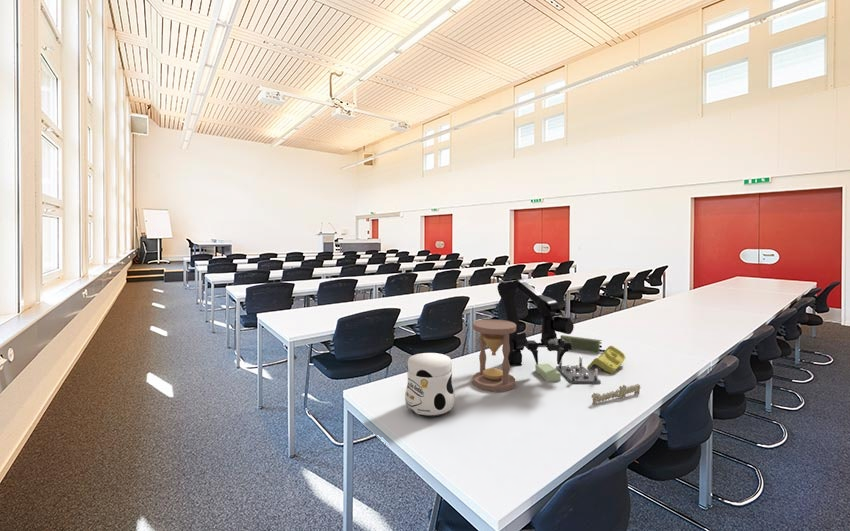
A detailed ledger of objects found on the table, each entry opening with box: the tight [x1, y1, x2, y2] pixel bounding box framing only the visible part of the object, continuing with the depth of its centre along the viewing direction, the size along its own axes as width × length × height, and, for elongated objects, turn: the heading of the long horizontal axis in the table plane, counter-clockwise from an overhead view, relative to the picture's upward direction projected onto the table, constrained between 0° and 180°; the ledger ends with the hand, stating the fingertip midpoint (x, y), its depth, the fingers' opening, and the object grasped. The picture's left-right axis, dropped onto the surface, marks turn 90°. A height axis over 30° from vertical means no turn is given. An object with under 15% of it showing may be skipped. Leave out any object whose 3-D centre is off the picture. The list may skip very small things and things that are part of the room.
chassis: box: [555, 356, 602, 385], centre depth 165 cm, size 12×18×6 cm, turn 0°
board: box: [534, 363, 562, 382], centre depth 165 cm, size 6×12×4 cm, turn 7°
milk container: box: [404, 352, 455, 418], centre depth 133 cm, size 17×17×18 cm
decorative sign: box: [591, 383, 641, 405], centre depth 142 cm, size 24×1×5 cm, turn 113°
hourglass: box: [471, 318, 516, 393], centre depth 156 cm, size 18×18×25 cm
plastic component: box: [587, 345, 626, 374], centre depth 177 cm, size 20×7×10 cm
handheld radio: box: [559, 334, 606, 354], centre depth 201 cm, size 7×3×25 cm
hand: (547, 364), depth 165 cm, fingers open, 9 cm apart
